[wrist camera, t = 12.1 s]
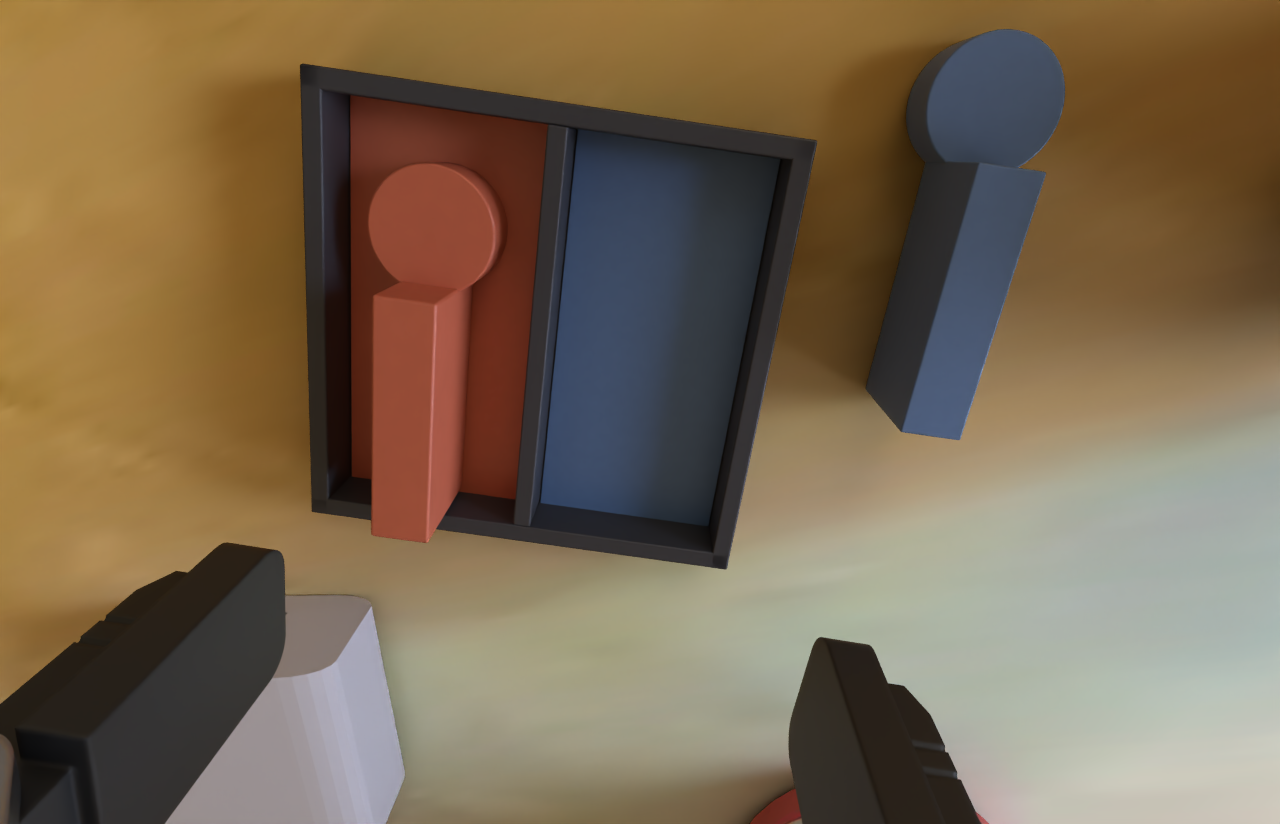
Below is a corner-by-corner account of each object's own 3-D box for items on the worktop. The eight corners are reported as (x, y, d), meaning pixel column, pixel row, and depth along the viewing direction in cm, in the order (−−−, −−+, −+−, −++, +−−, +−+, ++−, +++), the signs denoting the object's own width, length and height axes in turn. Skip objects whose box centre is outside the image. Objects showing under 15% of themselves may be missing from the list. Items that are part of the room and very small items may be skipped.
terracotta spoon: (385, 476, 26) (337, 532, 22) (389, 153, 22) (332, 153, 18) (489, 490, 26) (460, 548, 22) (512, 171, 22) (480, 175, 18)
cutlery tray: (338, 72, 22) (299, 62, 19) (801, 141, 22) (817, 140, 20) (342, 480, 27) (311, 512, 24) (721, 533, 27) (726, 570, 24)
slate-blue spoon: (836, 385, 25) (867, 427, 21) (925, 29, 21) (982, 2, 17) (943, 400, 25) (993, 445, 21) (1052, 48, 21) (1136, 26, 17)
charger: (241, 861, 34) (155, 595, 29) (431, 862, 33) (378, 593, 28) (177, 969, 29) (61, 677, 24) (395, 972, 29) (325, 675, 24)
